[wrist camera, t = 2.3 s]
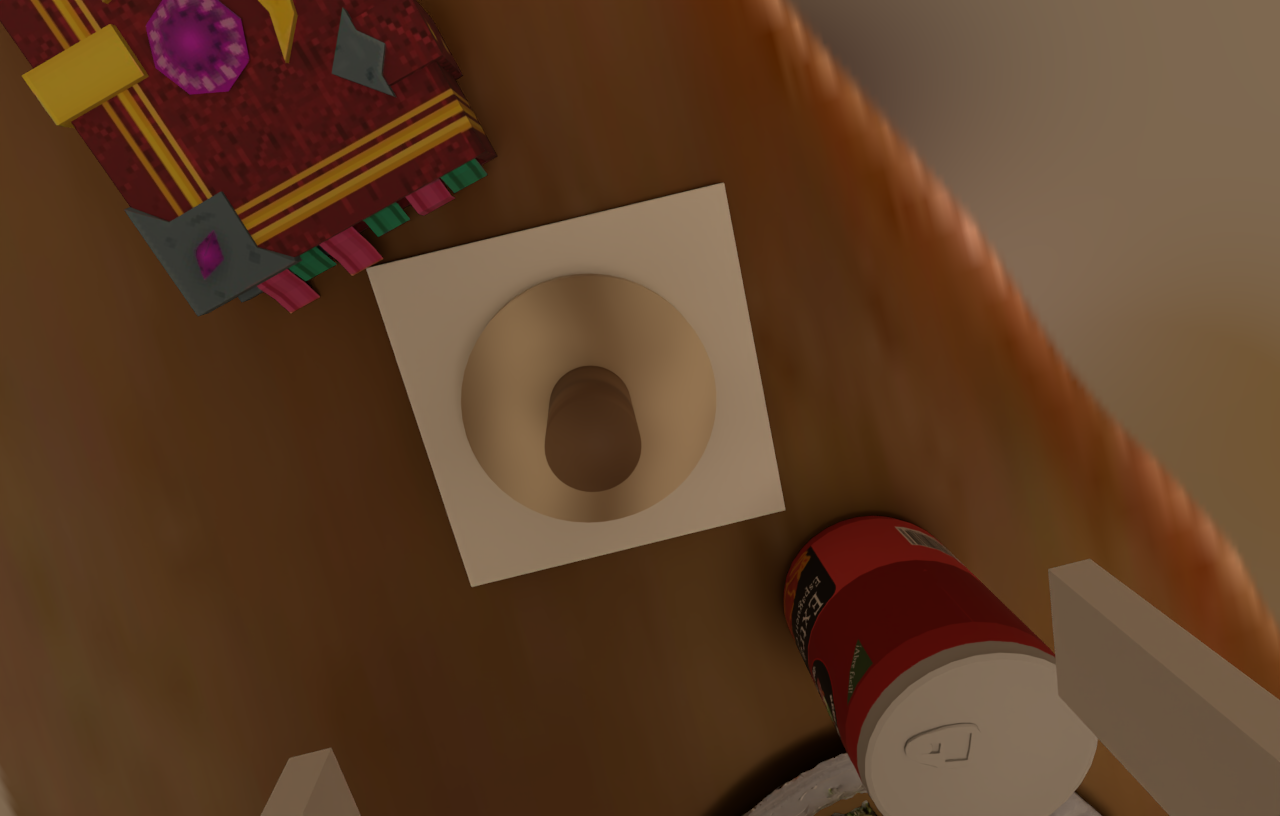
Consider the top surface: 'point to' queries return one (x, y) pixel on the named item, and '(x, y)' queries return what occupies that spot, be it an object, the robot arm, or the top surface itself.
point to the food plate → (850, 793)
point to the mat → (592, 244)
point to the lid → (588, 398)
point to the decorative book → (257, 127)
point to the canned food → (931, 677)
